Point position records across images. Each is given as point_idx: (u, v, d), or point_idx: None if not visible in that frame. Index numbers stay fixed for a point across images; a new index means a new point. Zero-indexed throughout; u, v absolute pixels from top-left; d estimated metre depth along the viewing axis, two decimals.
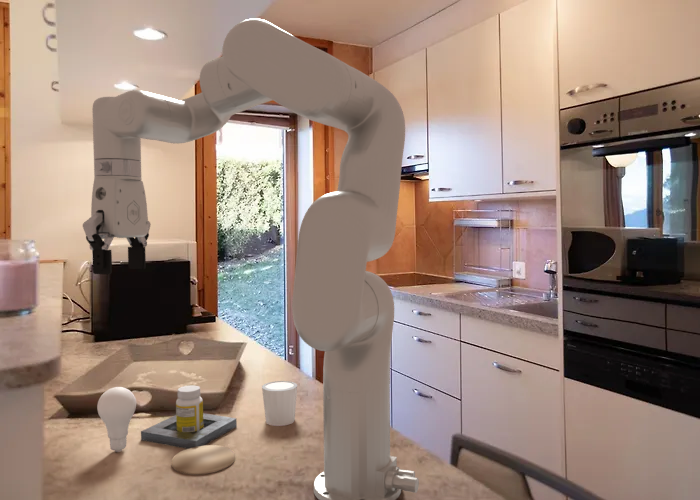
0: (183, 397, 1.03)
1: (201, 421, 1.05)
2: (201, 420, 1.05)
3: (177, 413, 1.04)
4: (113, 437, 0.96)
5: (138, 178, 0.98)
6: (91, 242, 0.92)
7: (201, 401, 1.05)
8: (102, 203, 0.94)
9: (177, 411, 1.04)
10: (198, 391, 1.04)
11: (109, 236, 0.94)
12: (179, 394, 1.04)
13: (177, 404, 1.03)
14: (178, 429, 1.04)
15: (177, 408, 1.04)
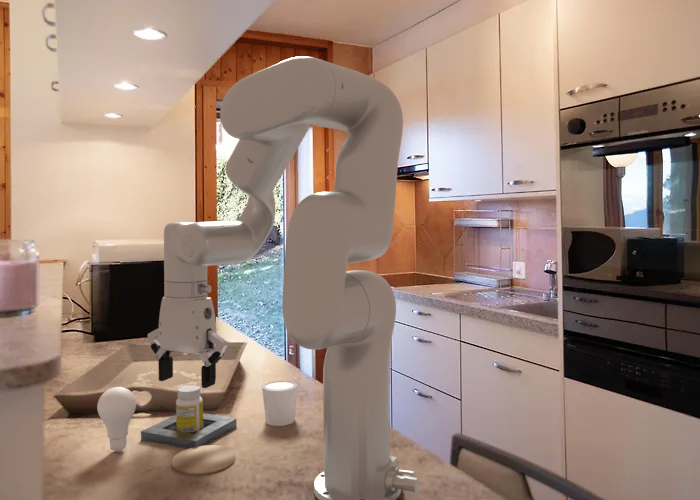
0: (183, 397, 1.03)
1: (201, 421, 1.05)
2: (201, 420, 1.05)
3: (177, 413, 1.04)
4: (113, 437, 0.96)
5: None
6: (216, 359, 1.02)
7: (201, 401, 1.05)
8: (210, 322, 1.03)
9: (177, 411, 1.04)
10: (198, 391, 1.04)
11: None
12: (179, 394, 1.04)
13: (177, 404, 1.04)
14: (178, 429, 1.04)
15: (177, 408, 1.04)
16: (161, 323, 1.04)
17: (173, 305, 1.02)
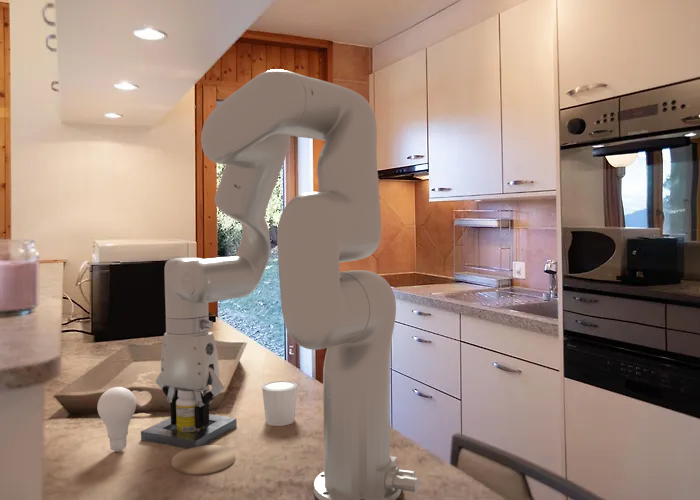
0: (183, 397, 1.03)
1: None
2: None
3: (177, 412, 1.04)
4: (113, 437, 0.96)
5: None
6: None
7: None
8: (212, 357, 1.03)
9: (177, 411, 1.04)
10: None
11: None
12: (179, 394, 1.04)
13: (177, 404, 1.03)
14: (178, 429, 1.04)
15: (177, 408, 1.04)
16: (163, 359, 1.04)
17: (175, 341, 1.03)
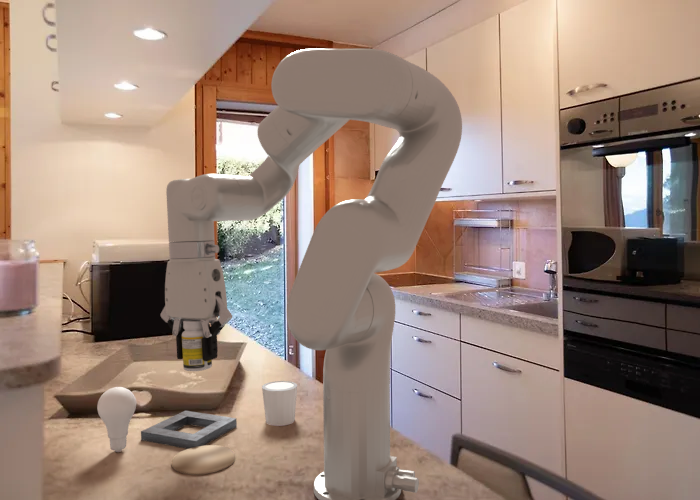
0: (189, 327, 0.96)
1: None
2: None
3: (183, 345, 0.97)
4: (113, 437, 0.96)
5: None
6: None
7: None
8: (219, 284, 0.96)
9: (183, 343, 0.97)
10: None
11: (216, 320, 0.98)
12: (185, 325, 0.97)
13: (183, 336, 0.97)
14: (184, 363, 0.97)
15: (183, 340, 0.97)
16: (167, 289, 0.98)
17: (179, 268, 0.96)
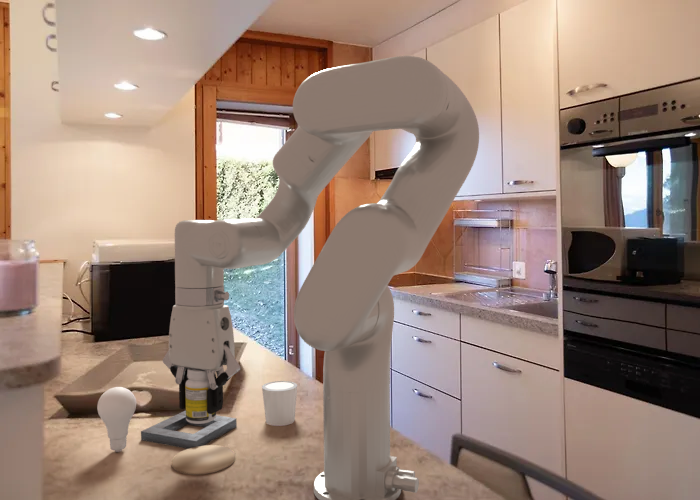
0: (194, 378, 0.91)
1: None
2: None
3: (187, 395, 0.91)
4: (113, 437, 0.96)
5: None
6: (223, 381, 0.90)
7: None
8: (227, 333, 0.91)
9: (187, 393, 0.91)
10: None
11: None
12: (189, 374, 0.91)
13: (187, 386, 0.91)
14: (187, 414, 0.91)
15: (187, 390, 0.91)
16: (172, 335, 0.92)
17: (186, 314, 0.90)
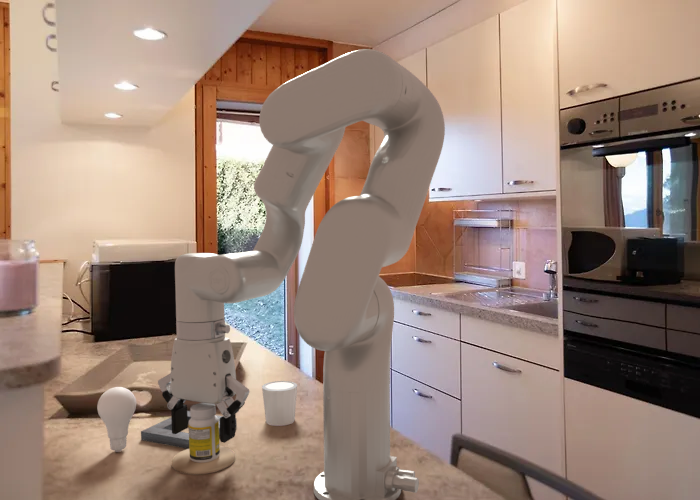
0: (197, 417, 0.91)
1: (217, 443, 0.92)
2: (217, 442, 0.92)
3: (190, 434, 0.91)
4: (113, 437, 0.96)
5: None
6: (236, 409, 0.90)
7: (217, 421, 0.92)
8: (229, 366, 0.91)
9: (190, 433, 0.91)
10: (213, 410, 0.92)
11: None
12: (192, 413, 0.91)
13: (190, 425, 0.91)
14: (191, 453, 0.91)
15: (190, 429, 0.91)
16: (173, 368, 0.92)
17: (187, 348, 0.90)
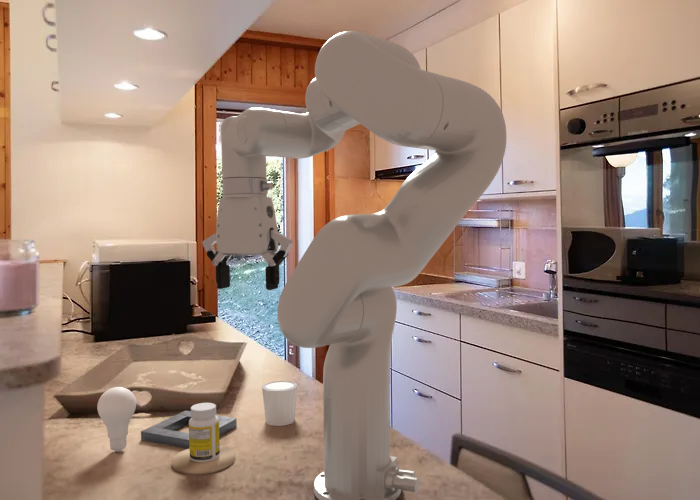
0: (197, 417, 0.91)
1: (217, 443, 0.92)
2: (217, 442, 0.92)
3: (190, 434, 0.91)
4: (113, 437, 0.96)
5: None
6: None
7: (217, 421, 0.93)
8: (272, 221, 0.98)
9: (190, 432, 0.91)
10: (214, 410, 0.92)
11: None
12: (192, 413, 0.91)
13: (190, 424, 0.91)
14: (191, 453, 0.91)
15: (190, 429, 0.91)
16: (219, 225, 0.99)
17: (233, 204, 0.97)
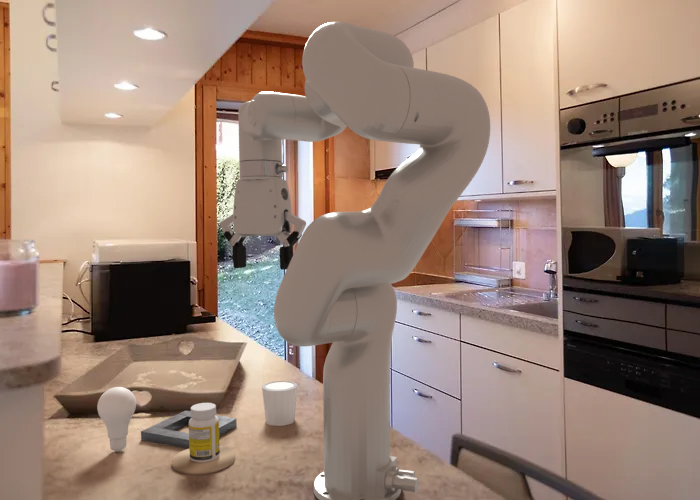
0: (197, 417, 0.91)
1: (217, 443, 0.92)
2: (217, 443, 0.92)
3: (190, 434, 0.91)
4: (113, 437, 0.96)
5: None
6: (294, 239, 1.00)
7: (217, 421, 0.92)
8: (286, 203, 1.01)
9: (190, 432, 0.91)
10: (214, 410, 0.92)
11: None
12: (192, 413, 0.91)
13: (190, 425, 0.91)
14: (191, 453, 0.91)
15: (190, 429, 0.91)
16: (236, 207, 1.02)
17: (249, 186, 1.01)
